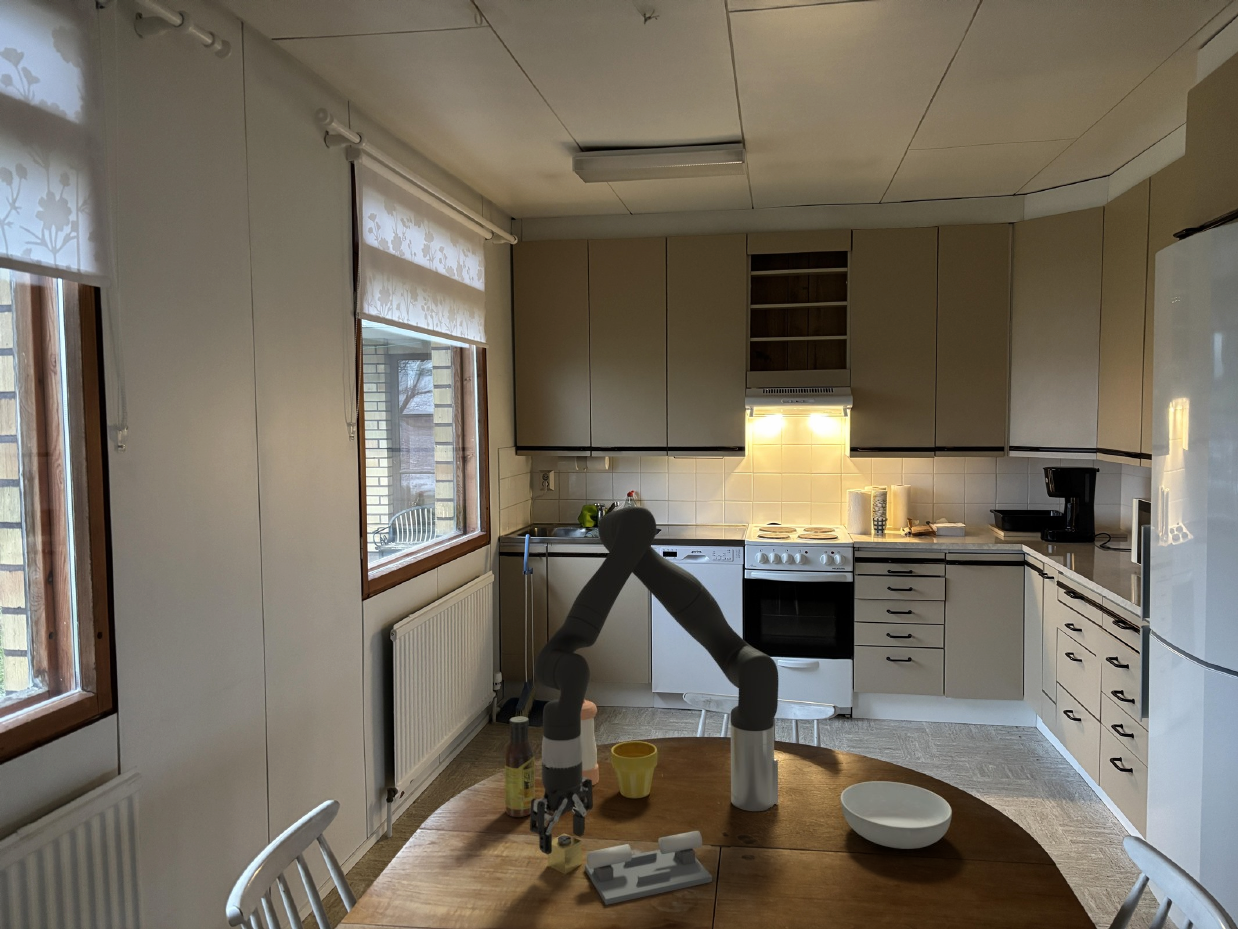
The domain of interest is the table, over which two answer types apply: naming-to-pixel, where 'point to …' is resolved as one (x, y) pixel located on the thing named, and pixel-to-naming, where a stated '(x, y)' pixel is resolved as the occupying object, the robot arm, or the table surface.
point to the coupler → (565, 853)
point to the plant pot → (634, 767)
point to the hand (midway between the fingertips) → (562, 843)
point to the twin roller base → (647, 868)
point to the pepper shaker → (589, 742)
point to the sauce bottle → (519, 770)
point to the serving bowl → (896, 814)
